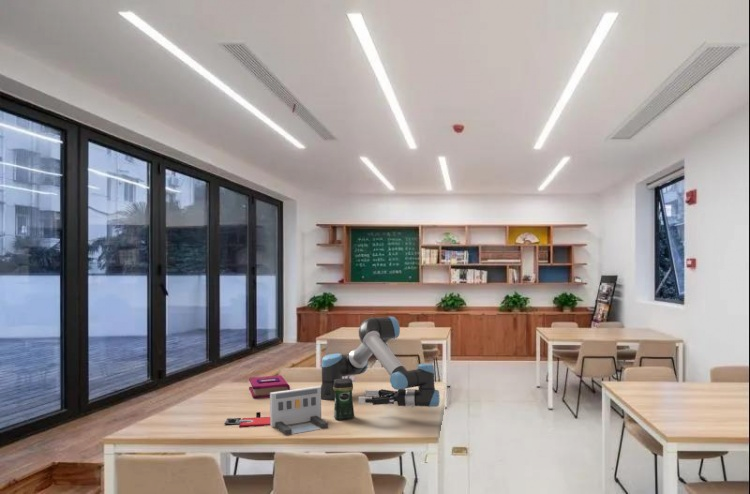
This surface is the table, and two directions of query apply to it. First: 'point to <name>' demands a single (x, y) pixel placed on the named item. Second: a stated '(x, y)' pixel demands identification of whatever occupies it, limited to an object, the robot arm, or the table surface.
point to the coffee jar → (343, 399)
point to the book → (267, 386)
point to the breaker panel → (295, 405)
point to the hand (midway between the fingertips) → (362, 396)
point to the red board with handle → (250, 421)
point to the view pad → (303, 428)
